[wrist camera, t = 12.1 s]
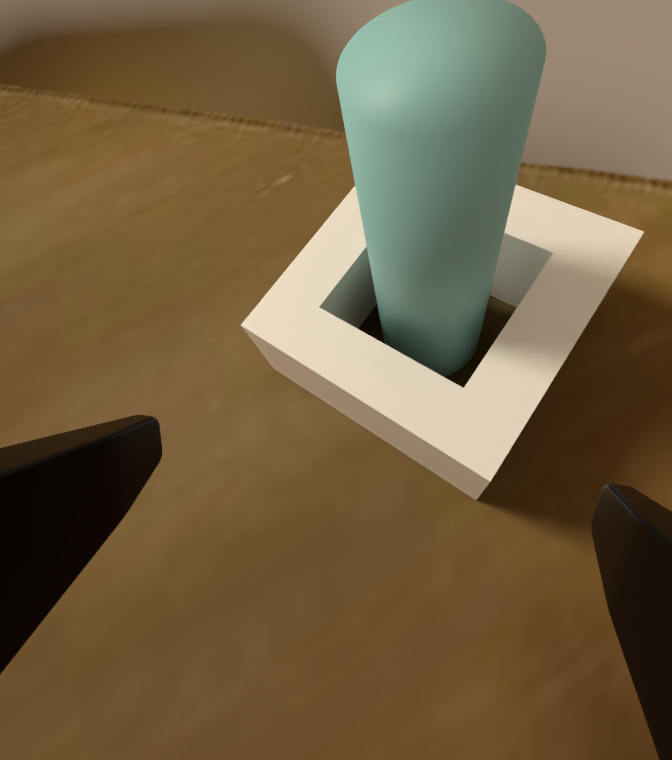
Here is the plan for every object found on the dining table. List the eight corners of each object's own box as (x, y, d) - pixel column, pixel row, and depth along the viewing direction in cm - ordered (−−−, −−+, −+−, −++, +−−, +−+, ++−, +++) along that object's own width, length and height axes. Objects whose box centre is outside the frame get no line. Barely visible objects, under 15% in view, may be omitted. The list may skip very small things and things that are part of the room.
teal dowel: (498, 347, 21) (594, 61, 9) (414, 395, 21) (400, 167, 9) (444, 280, 23) (466, -33, 11) (367, 323, 23) (303, 55, 11)
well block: (601, 297, 21) (644, 231, 17) (476, 500, 19) (490, 481, 15) (398, 210, 25) (392, 140, 21) (274, 369, 23) (240, 325, 18)
